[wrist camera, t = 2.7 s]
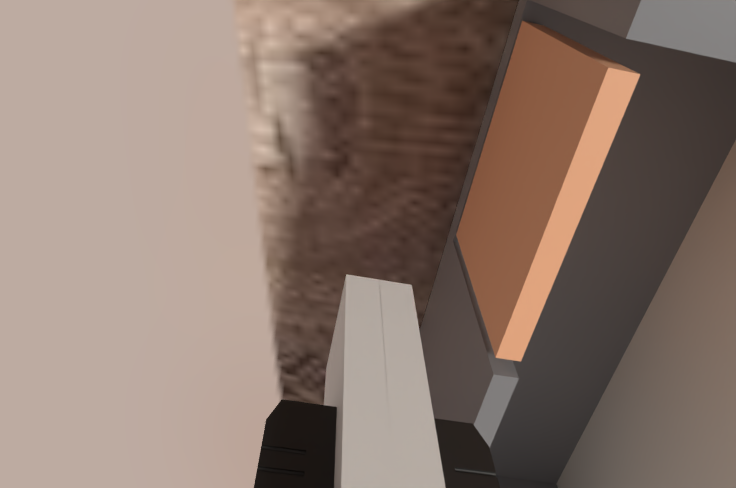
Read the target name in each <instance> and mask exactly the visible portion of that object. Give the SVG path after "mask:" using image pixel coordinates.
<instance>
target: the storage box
mask: <svg viewBox="0 0 736 488" xmlns="http://www.w3.org/2000/svg"><path fill="white" fill-rule="evenodd" d="M522 21H526V22H530V23H535V24H539V25H544V26H546V27H548V28H550V29H552V30H554V31H556V32H558V33H560V34H562V35H564V36H566V37H568V38H570V39H572V40H573V41H575V42H577V43H579V44H581V45H583V46H585V47H587V48H589V49H591V50H593V51H595V52H597V53H599V54H601V55H603V56H605V57H607V58H609V59H611V60H613V61H615V62H617V63H619V64H621V65H623V66H625V67H627V68H629V69H631V70H633V71H635V72H637V73H639V74H641V75H640V77H639V79H638V82H637V84H636V87H635V89H634V91H633V94H632V96H631V99H630V101H629V103H628V106H627V108H626V111H625V113H624V115H623V118H622V120H621V123H620V125H619V127H618V130H617V132H616V134H615V137H614V139H613V142H612V144H611V146H610V149H609V151H608V154H607V156H606V158H605V161H604V163H603V166H602V168H601V170H600V173H599V175H598V178H597V180H596V182H595V185H594V187H593V190H592V192H591V194H590V197H589V199H588V202H587V204H586V206H585V209H584V211H583V214H582V216H581V218H580V221H579V223H578V226H577V228H576V230H575V233H574V235H573V238H572V240H571V242H570V245H569V247H568V250H567V252H566V254H565V257H564V259H563V262H562V264H561V266H560V269H559V271H558V274H557V276H556V278H555V281H554V283H553V286H552V288H551V290H550V293H549V295H548V298H547V300H546V302H545V305H544V307H543V310H542V312H541V314H540V317H539V319H538V322H537V324H536V326H535V329H534V331H533V334H532V336H531V338H530V341H529V343H528V346H527V348H526V350H525V353H524V355H523V358H522V360H521V361H514V360H507V359H501V358H496V357H495V354H494V351H493V348H492V345H491V342H490V339H489V336H488V333H487V329H486V326H485V323H484V320H483V317H482V314H481V311H480V308H479V305H478V301H477V298H476V295H475V292H474V289H473V286H472V283H471V280H470V276H469V273H468V270H467V267H466V264H465V261H464V258H463V255H462V252H461V248H460V245H459V242H458V239H457V236H456V234H457V231H458V227H459V224H460V221H461V218H462V214H463V211H464V208H465V205H466V201H467V198H468V195H469V192H470V188H471V185H472V182H473V179H474V175H475V172H476V169H477V166H478V162H479V159H480V156H481V153H482V149H483V146H484V143H485V140H486V136H487V133H488V130H489V127H490V123H491V120H492V117H493V114H494V111H495V107H496V104H497V101H498V98H499V94H500V91H501V88H502V85H503V81H504V78H505V75H506V72H507V68H508V65H509V62H510V59H511V55H512V52H513V49H514V46H515V42H516V39H517V36H518V33H519V29H520V26H521V23H522ZM420 337H421V343H422V349H423V355H424V361H425V367H426V373H427V379H428V385H429V391H430V397H431V403H432V409H433V415H434V418H436V419H443V420H451V421H458V422H465V423H473V425H474V426H475V428H476V429H477V430H478V432H479V433H480V435H481V436H482V437H483V439H484V440H485V442H486V443H487V444H488V446H489V448H490V452H491V455H492V459H493V463H494V467H495V470H496V477H497V478H498V482H499V485H500V488H736V0H519V2H518V5H517V8H516V12H515V15H514V18H513V22H512V25H511V28H510V32H509V35H508V38H507V42H506V45H505V48H504V52H503V55H502V58H501V62H500V65H499V68H498V72H497V75H496V78H495V82H494V85H493V88H492V92H491V95H490V98H489V102H488V105H487V108H486V111H485V115H484V118H483V121H482V125H481V128H480V131H479V135H478V138H477V141H476V145H475V148H474V151H473V155H472V158H471V161H470V165H469V168H468V171H467V175H466V178H465V181H464V185H463V188H462V191H461V195H460V198H459V201H458V205H457V208H456V211H455V215H454V218H453V221H452V225H451V228H450V231H449V234H448V238H447V241H446V244H445V248H444V251H443V254H442V258H441V261H440V264H439V268H438V271H437V274H436V278H435V281H434V284H433V288H432V291H431V294H430V298H429V301H428V304H427V308H426V311H425V314H424V318H423V321H422V324H421V328H420Z"/></svg>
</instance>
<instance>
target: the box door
mask: <svg viewBox="0 0 736 488" xmlns="http://www.w3.org/2000/svg"><path fill="white" fill-rule="evenodd" d="M640 75H641V74H639V73H637V72H635V71H633V70H631V69H629V68H627V67H625V66H623V65H621V64H619V63H617V62H615V61H613V60H611V59H609V58H607V57H605V56H603V55H601V54H599V53H597V52H595V51H593V50H591V49H589V48H587V47H585V46H583V45H581V44H579V43H577V42H575V41H573V40H572V39H570V38H568V37H566V36H564V35H562V34H560V33H558V32H556V31H554V30H552V29H550V28H548V27H546V26H544V25H539V24H535V23H530V22H526V21H522V23H521V26H520V29H519V33H518V36H517V39H516V42H515V46H514V49H513V52H512V55H511V59H510V62H509V65H508V68H507V72H506V75H505V78H504V81H503V85H502V88H501V91H500V94H499V98H498V101H497V104H496V107H495V111H494V114H493V117H492V120H491V123H490V127H489V130H488V133H487V136H486V140H485V143H484V146H483V149H482V153H481V156H480V159H479V162H478V166H477V169H476V172H475V175H474V179H473V182H472V185H471V188H470V192H469V195H468V198H467V201H466V205H465V208H464V211H463V214H462V218H461V221H460V224H459V227H458V231H457V234H456V236H457V239H458V242H459V245H460V248H461V252H462V255H463V258H464V261H465V264H466V267H467V270H468V273H469V276H470V280H471V283H472V286H473V289H474V292H475V295H476V298H477V301H478V305H479V308H480V311H481V314H482V317H483V320H484V323H485V326H486V329H487V333H488V336H489V339H490V342H491V345H492V348H493V351H494V354H495V357H496V358H501V359H507V360H514V361H521V360H522V358H523V355H524V353H525V350H526V348H527V346H528V343H529V341H530V338H531V336H532V334H533V331H534V329H535V326H536V324H537V322H538V319H539V317H540V314H541V312H542V310H543V307H544V305H545V302H546V300H547V298H548V295H549V293H550V290H551V288H552V286H553V283H554V281H555V278H556V276H557V274H558V271H559V269H560V266H561V264H562V262H563V259H564V257H565V254H566V252H567V250H568V247H569V245H570V242H571V240H572V238H573V235H574V233H575V230H576V228H577V226H578V223H579V221H580V218H581V216H582V214H583V211H584V209H585V206H586V204H587V202H588V199H589V197H590V194H591V192H592V190H593V187H594V185H595V182H596V180H597V178H598V175H599V173H600V170H601V168H602V166H603V163H604V161H605V158H606V156H607V154H608V151H609V149H610V146H611V144H612V142H613V139H614V137H615V134H616V132H617V130H618V127H619V125H620V123H621V120H622V118H623V115H624V113H625V111H626V108H627V106H628V103H629V101H630V99H631V96H632V94H633V91H634V89H635V87H636V84H637V82H638V79H639V77H640Z"/></svg>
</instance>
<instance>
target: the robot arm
mask: <svg viewBox="0 0 736 488" xmlns="http://www.w3.org/2000/svg"><path fill="white" fill-rule="evenodd" d="M254 488H500V485H499V482H498V478H497V477H496V470H495V467H494V463H493V459H492V455H491V452H490V448H489V446H488V444H487V443H486V442H485V440H484V439H483V437H482V436H481V435H480V433H479V432H478V430H477V429H476V428H475V426H474V425H473V423H465V422H458V421H451V420H443V419H436V418H434V415H433V409H432V403H431V397H430V391H429V385H428V379H427V373H426V367H425V361H424V355H423V349H422V343H421V337H420V331H419V325H418V319H417V313H416V307H415V301H414V295H413V289H412V285H410V284H403V283H397V282H391V281H385V280H378V279H372V278H366V277H360V276H354V275H347V274H346V278H345V283H344V287H343V292H342V297H341V301H340V306H339V311H338V315H337V320H336V325H335V330H334V334H333V339H332V344H331V348H330V353H329V358H328V363H327V367H326V379H325V394H324V405H319V404H312V403H304V402H297V401H289V400H281V401H280V403H279V404H278V405H277V407H276V408H275V409H274V410H273V412H272V413H271V414H270V416H269V417H268V418H267V419H266V424H265V430H264V435H263V441H262V446H261V452H260V457H259V463H258V469H257V474H256V479H255V485H254Z"/></svg>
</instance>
